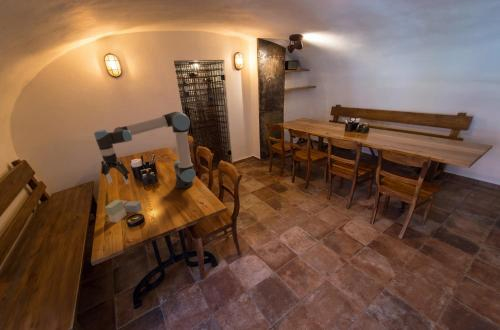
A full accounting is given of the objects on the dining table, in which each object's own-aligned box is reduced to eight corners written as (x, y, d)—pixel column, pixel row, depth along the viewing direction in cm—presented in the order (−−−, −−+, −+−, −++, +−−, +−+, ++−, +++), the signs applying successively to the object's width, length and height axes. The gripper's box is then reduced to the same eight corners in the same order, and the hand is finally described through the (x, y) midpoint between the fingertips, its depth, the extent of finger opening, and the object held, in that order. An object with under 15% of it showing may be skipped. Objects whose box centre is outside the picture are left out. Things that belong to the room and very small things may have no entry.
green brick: (124, 207, 143) (121, 200, 141) (113, 215, 135) (110, 207, 132) (118, 207, 144) (115, 199, 142) (107, 214, 136) (104, 207, 134)
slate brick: (142, 208, 152) (140, 201, 149) (137, 212, 147) (135, 205, 145) (131, 208, 153) (129, 201, 151) (126, 212, 149) (124, 205, 146)
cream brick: (126, 214, 145) (124, 207, 143) (116, 222, 137) (113, 215, 135) (120, 214, 146) (118, 206, 144) (110, 222, 138) (107, 214, 136)
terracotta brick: (130, 207, 154) (128, 200, 151) (125, 211, 149) (122, 204, 147) (120, 206, 156) (117, 199, 153) (114, 210, 151) (112, 203, 149)
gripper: (129, 152, 134) (138, 181, 143) (97, 152, 139) (108, 179, 148) (120, 156, 127) (130, 186, 136) (87, 156, 132) (99, 184, 141)
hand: (119, 183), depth 142 cm, fingers open, 13 cm apart
